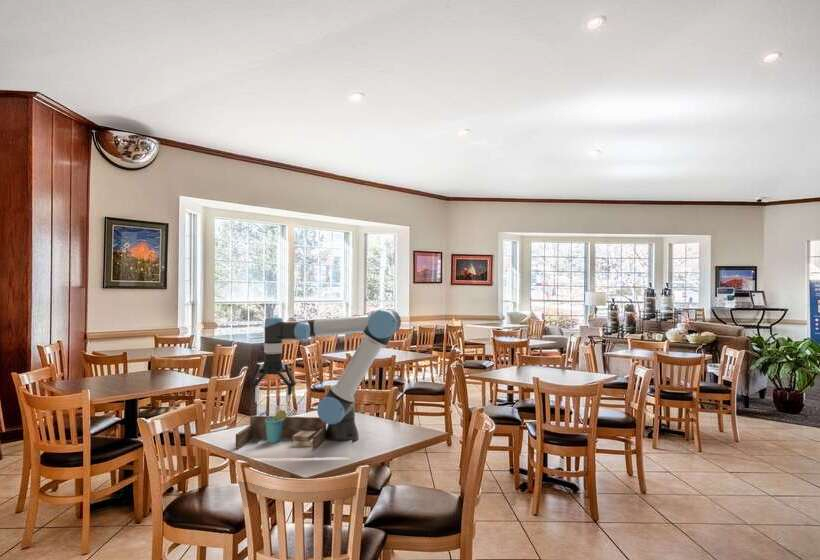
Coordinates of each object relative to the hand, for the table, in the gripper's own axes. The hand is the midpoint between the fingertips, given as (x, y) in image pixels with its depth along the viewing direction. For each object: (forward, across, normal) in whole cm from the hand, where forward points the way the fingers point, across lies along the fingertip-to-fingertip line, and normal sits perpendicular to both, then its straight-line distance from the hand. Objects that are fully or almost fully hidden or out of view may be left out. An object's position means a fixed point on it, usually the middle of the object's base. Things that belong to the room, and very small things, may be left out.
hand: (272, 402), depth 235 cm
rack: (+18, -4, -1) cm, 19 cm away
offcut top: (+15, -14, 0) cm, 21 cm away
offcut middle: (+17, -14, 0) cm, 22 cm away
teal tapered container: (+18, 0, 0) cm, 19 cm away
